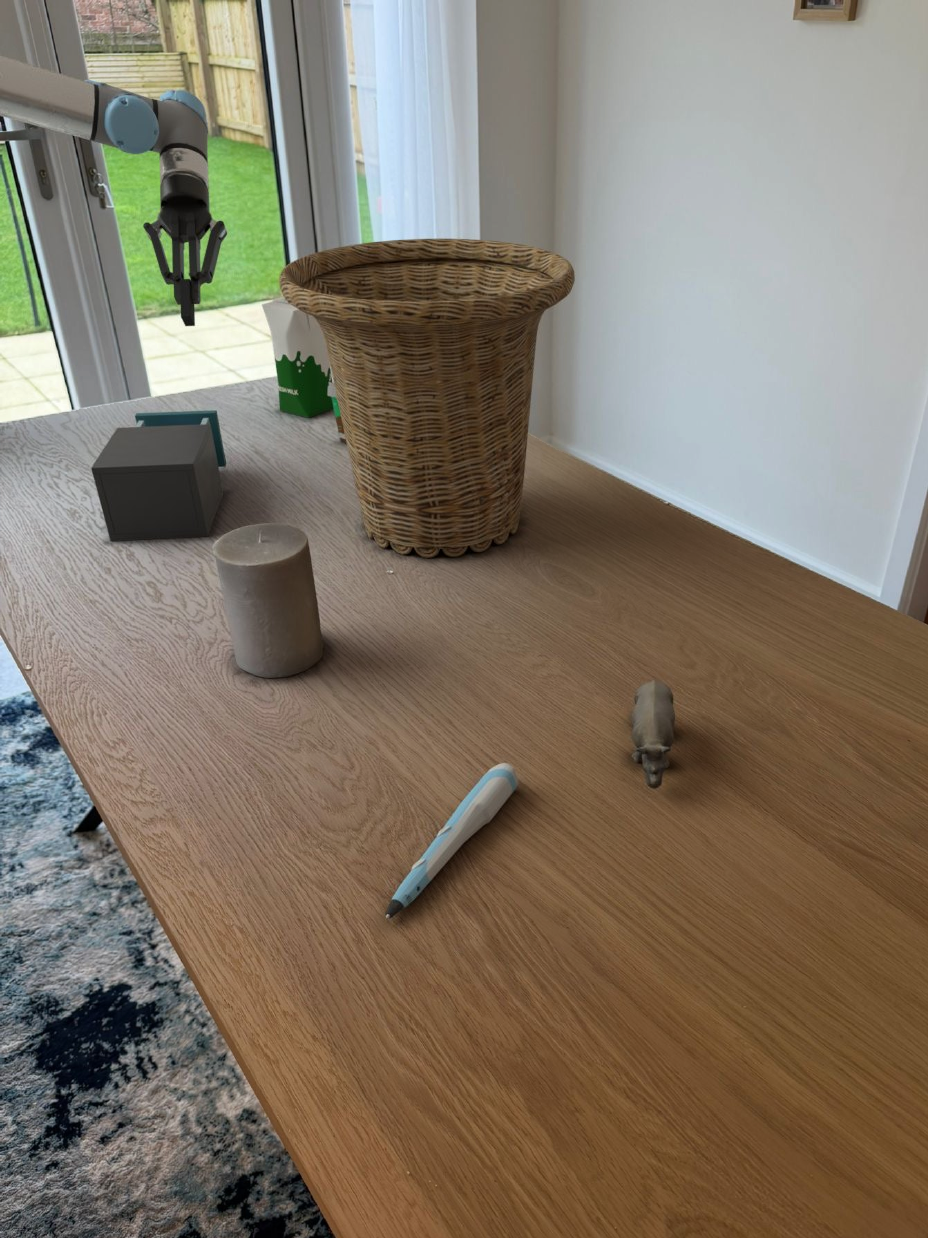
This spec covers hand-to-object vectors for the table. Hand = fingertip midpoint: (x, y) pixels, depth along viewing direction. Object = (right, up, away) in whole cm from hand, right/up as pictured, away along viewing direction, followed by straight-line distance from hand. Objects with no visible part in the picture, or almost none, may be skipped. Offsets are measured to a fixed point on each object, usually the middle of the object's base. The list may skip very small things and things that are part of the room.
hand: (187, 321), depth 161 cm
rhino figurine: (+66, -66, -64) cm, 113 cm away
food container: (+29, -17, +6) cm, 34 cm away
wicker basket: (+42, -36, -21) cm, 59 cm away
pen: (+48, -73, -74) cm, 114 cm away
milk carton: (+15, -9, +18) cm, 25 cm away
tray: (+2, -26, -9) cm, 28 cm away
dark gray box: (+4, -34, -18) cm, 39 cm away
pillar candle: (+26, -55, -48) cm, 78 cm away
